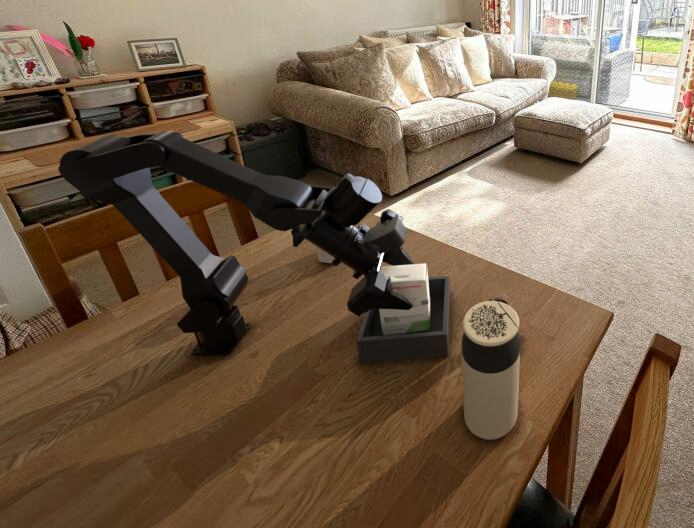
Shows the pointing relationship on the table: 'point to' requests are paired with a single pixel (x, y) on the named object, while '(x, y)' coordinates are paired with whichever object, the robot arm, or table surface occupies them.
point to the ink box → (416, 290)
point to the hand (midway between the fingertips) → (414, 288)
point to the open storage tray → (409, 344)
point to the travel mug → (490, 369)
